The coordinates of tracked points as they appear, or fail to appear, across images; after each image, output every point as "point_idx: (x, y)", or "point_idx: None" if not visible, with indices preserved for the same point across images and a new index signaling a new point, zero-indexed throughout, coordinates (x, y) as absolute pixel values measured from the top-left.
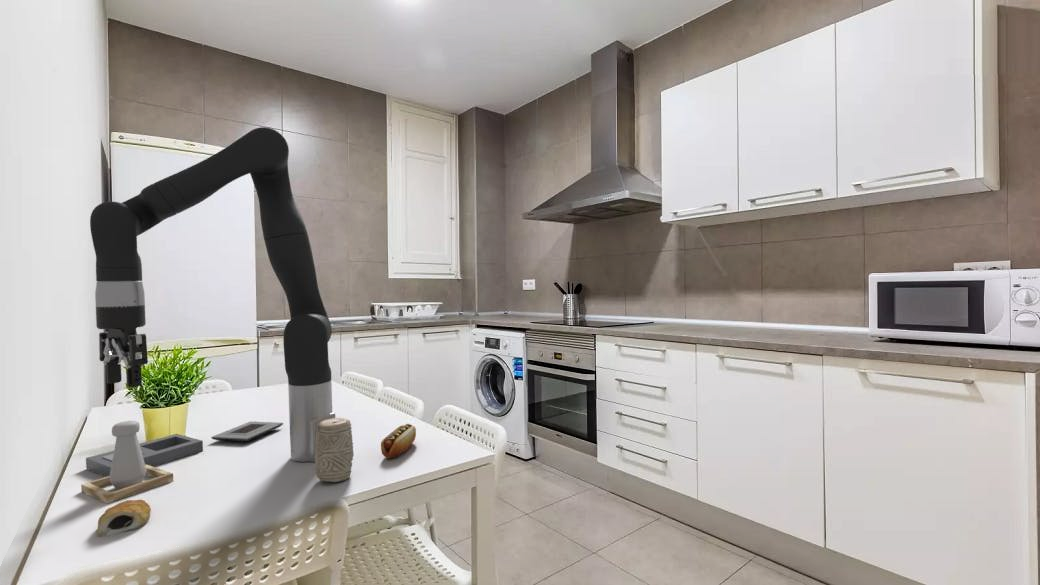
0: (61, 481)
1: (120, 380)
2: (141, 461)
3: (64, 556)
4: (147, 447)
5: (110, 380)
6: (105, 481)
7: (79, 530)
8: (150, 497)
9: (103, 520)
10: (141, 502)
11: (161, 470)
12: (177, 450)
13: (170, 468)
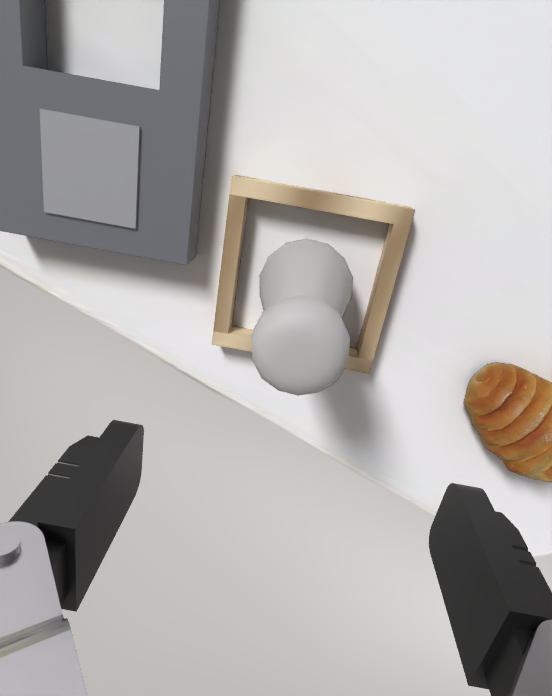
0: (72, 305)
1: (138, 429)
2: (341, 275)
3: (522, 516)
4: (28, 36)
5: (132, 492)
6: (233, 297)
7: (444, 456)
8: (450, 310)
9: (538, 479)
10: (549, 405)
11: (346, 202)
12: (208, 28)
13: (290, 126)
